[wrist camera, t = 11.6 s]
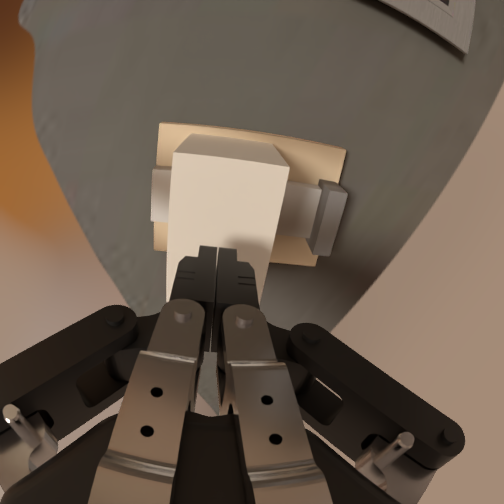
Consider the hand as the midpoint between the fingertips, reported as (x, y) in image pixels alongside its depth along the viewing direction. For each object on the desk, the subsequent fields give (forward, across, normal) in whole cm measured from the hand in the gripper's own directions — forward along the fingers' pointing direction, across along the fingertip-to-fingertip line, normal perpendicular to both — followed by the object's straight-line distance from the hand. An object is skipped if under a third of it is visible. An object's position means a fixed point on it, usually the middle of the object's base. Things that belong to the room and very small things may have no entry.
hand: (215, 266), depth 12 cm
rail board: (+9, -2, 0) cm, 9 cm away
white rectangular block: (+8, 0, 0) cm, 8 cm away
